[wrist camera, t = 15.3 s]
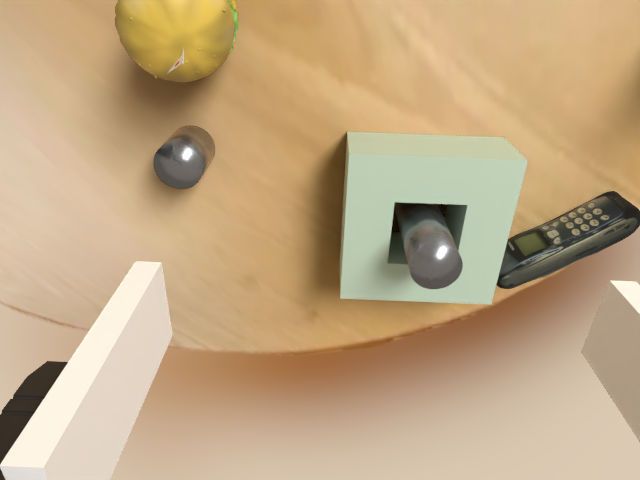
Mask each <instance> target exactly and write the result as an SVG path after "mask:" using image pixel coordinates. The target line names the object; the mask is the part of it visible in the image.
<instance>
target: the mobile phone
mask: <svg viewBox="0 0 640 480" xmlns="http://www.w3.org/2000/svg"><path fill="white" fill-rule="evenodd" d="M639 226H640V211H639V209H638V208H637V207H635V206H634V205H632V204H631V203H630V202H628V201H627V200H625V199H624V198H623V197H622V196H620V195H619V194H618V193H617V192H615V191H611V192H607V193H605V194H603V195H601V196H599V197H597V198H595V199H593V200H591V201H589V202H587V203H585V204H583V205H581V206H579V207H577V208H575V209H574V210H572V211H570V212H568V213H566V214H564V215H562V216H560V217H558V218H556V219H554V220H552V221H550V222H547V223H545V224H543V225H540V226H538V227H535V228H533V229H531V230H528V231H526V232H523V233H520V234H518V235H517V236H515V237H513V238H512V239H510V240H508V241H507V245H506V249H505V253H504V257H503V260H502V264H501V268H500V272H499V276H498V280H497V284H496V285H497V286H499V287H500V288H504V289H511V288H514V287H517V286H519V285H522V284H524V283H527V282H529V281H532V280H535V279H538V278H541V277H545V276H547V275H549V274H552V273H554V272H556V271H558V270H560V269H562V268H564V267H566V266H568V265H570V264H572V263H574V262H576V261H578V260H580V259H583V258H585V257H587V256H590V255H592V254H595V253H597V252H599V251H601V250H603V249H605V248H607V247H609V246H611V245H613V244H615V243H617V242H619V241H621V240H623V239H625V238H626V237H628V236H629V235H631V234H632V233H634V232H635V230H636V229H637V228H638V227H639Z"/></svg>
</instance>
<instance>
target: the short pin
mask: <svg viewBox="0 0 640 480" xmlns="http://www.w3.org/2000/svg"><path fill="white" fill-rule="evenodd" d="M214 154H215V145H214V141H213V139H212V138H211V136H210V135H209V134H208V133H207V132H206V131H205V130H203V129H202V128H199V127H197V126H184V127H182V128H180V129H178V130H177V131H176V132H175V133H174V134H173V135H172V136H171V137H170V138H169V139H168V140H167V141H166V142H165V143H164V144H163V146H162V147H161V148H160V149H159V150H158V151H157V152H156V154H155V157H154V169H155V172H156V174H157V175H158V177H159V178H160V179H161V180H162V181H163V182H164V183H165V184H167V185H168V186H170V187H173V188H176V189H187V188H190V187H192V186H194V185H195V184H196V183H197V182H198V181H199V180H200V178H201V176H202V175H203V173H204V172H205V170H206V169H207V167H208V165H209V164H210V162H211V161H212V159H213V157H214Z"/></svg>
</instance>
